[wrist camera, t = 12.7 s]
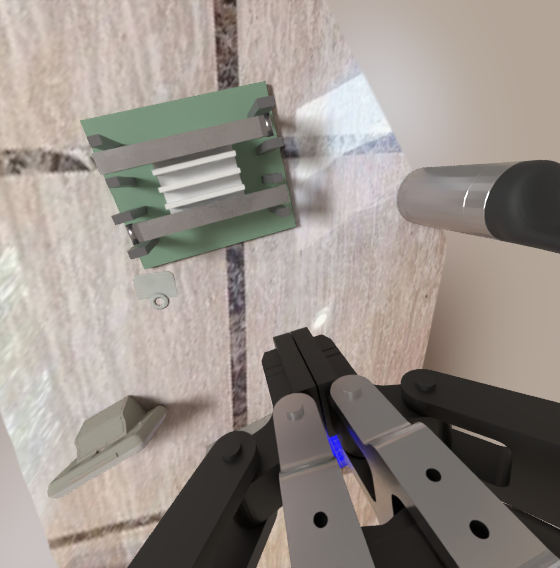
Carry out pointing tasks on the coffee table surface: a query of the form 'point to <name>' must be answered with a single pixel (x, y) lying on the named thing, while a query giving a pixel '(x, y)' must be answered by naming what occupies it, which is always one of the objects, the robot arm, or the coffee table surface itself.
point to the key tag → (155, 287)
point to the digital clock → (108, 442)
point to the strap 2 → (207, 214)
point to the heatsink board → (185, 123)
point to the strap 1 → (183, 144)
